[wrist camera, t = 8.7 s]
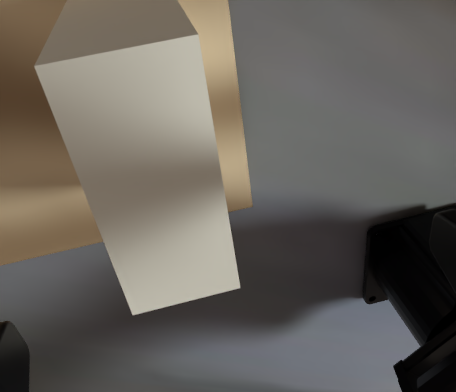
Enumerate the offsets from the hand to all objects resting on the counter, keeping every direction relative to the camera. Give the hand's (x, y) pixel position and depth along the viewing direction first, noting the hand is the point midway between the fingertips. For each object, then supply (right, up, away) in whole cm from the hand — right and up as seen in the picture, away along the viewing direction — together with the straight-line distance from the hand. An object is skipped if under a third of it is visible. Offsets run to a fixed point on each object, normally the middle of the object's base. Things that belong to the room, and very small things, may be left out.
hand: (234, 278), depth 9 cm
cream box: (-4, +6, +9) cm, 11 cm away
